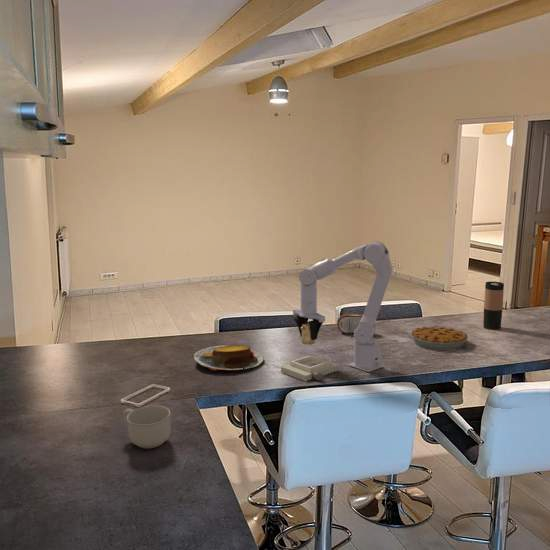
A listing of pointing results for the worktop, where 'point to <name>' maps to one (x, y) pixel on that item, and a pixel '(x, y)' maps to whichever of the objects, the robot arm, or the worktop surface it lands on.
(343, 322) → the tin
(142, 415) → the teacup
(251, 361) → the food on plate
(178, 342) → the worktop surface
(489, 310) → the travel mug
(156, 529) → the worktop surface
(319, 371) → the cream peg hole base
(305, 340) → the spout can
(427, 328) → the pie
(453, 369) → the worktop surface
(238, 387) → the worktop surface
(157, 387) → the phone case
